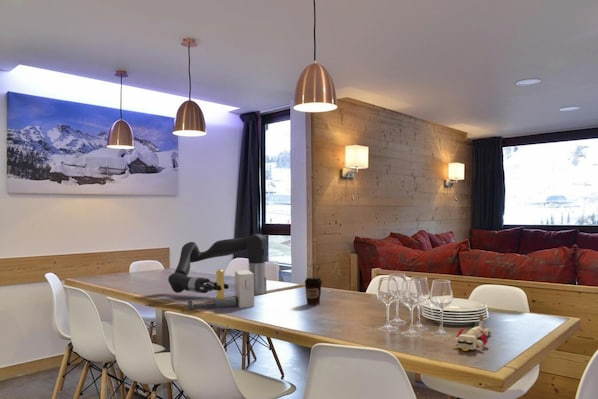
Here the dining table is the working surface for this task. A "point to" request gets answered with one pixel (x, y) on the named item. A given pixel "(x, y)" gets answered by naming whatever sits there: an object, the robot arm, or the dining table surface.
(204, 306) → the rail
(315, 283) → the coffee cup
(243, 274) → the cabinet
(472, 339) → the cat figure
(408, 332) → the dining table surface
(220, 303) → the gold sphere topped award
